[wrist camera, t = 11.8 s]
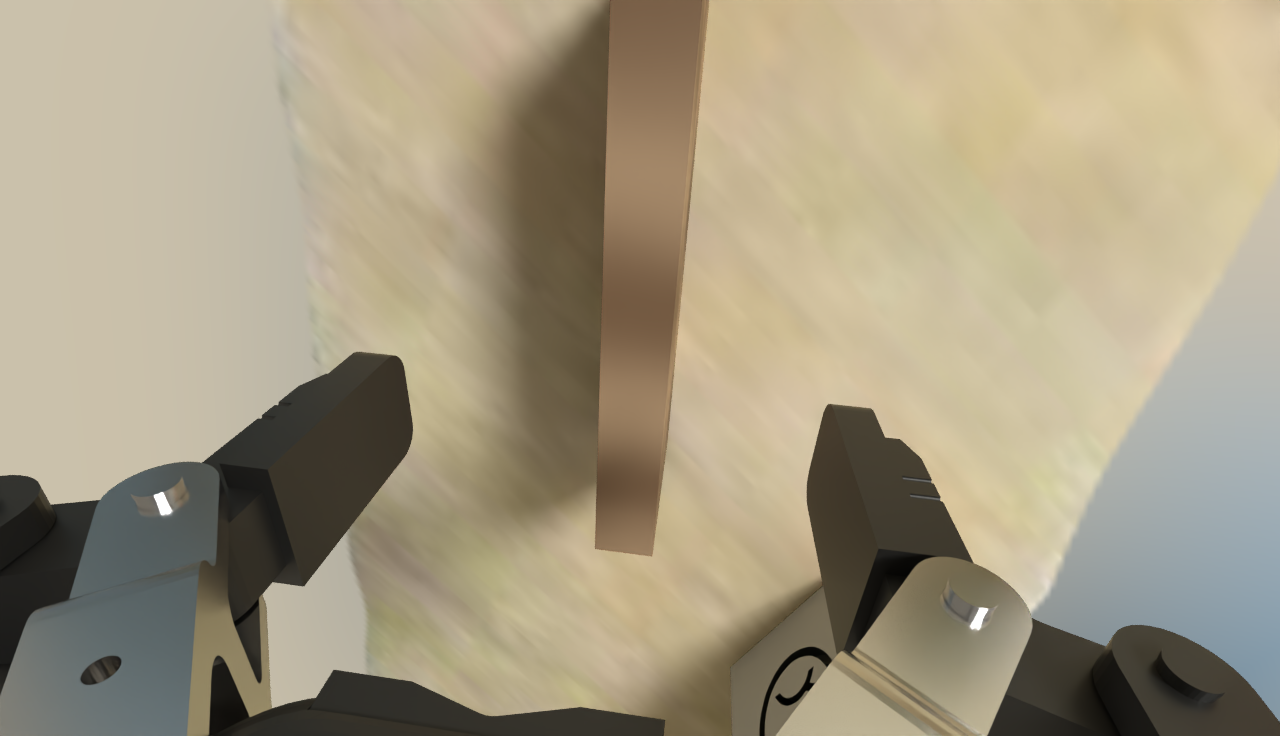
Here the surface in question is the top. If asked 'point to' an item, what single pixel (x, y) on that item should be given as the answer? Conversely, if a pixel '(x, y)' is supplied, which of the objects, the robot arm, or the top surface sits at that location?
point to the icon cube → (781, 669)
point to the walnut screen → (644, 253)
